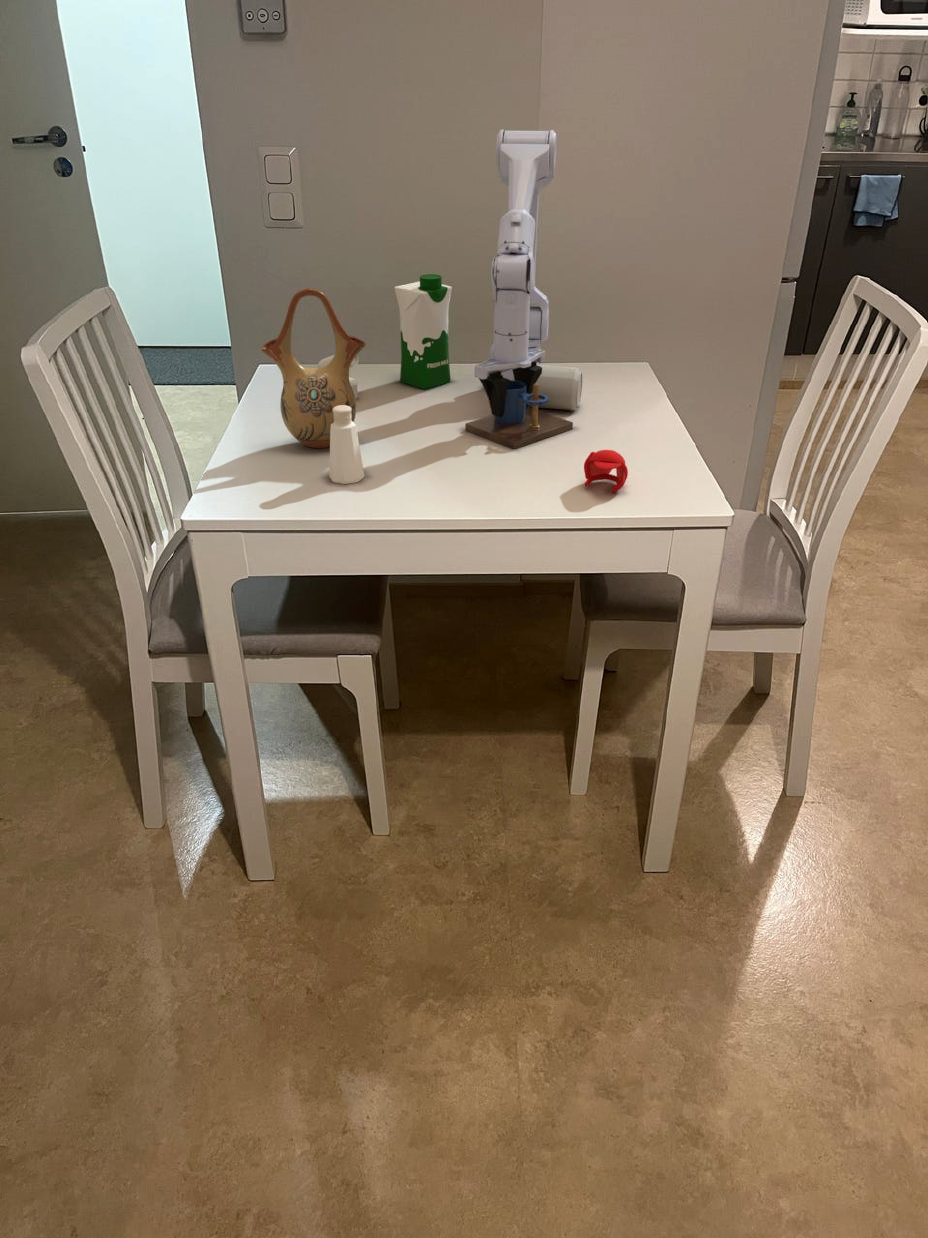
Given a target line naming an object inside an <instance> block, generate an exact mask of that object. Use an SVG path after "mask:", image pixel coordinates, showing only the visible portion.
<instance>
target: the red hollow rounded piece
mask: <svg viewBox="0 0 928 1238" xmlns="http://www.w3.org/2000/svg"><path fill="white" fill-rule="evenodd" d="M614 469H615V472H616V475H614V474H611V472H612V470H614ZM583 472H584V477H585V479H586V481H585V482H584V484H583V485H584V487H585V488H588V487H589V486H590V484H591V483H593V482H595V481H601V480H602V481H603V480H608V481H612V482H614V483H616V485H614V486H612V488H611V489H610V490H611V492H612V493H616V492H619V491H620V490H621V489H623V487H624V485H625V483H626V482H627V479H628V475H629V469H628V467H627V465H626V460H625V458H624V457H623V456H622V455H621V453H619V452H617V451H616V450H612V449H601V450H597V451H596V452H595V451H591V452H590V453H589V455H588V456H587V458H586V459H585V461H584V464H583Z"/></svg>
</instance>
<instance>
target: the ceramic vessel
mask: <svg viewBox="0 0 928 1238" xmlns="http://www.w3.org/2000/svg"><path fill="white" fill-rule="evenodd" d="M305 297H315V298H317V299H319V301H320V302H321V304H322V306H323V307H324V309H325V312H326V314H327V317H328V319H329V322H330V324H331V328H332V332H333V337H334V344H335V352H334V354H333V355H334V357H333V359H332V360H331V361H330V362H329V363H328V364H327V365H325V366H323V367H319V368H317V367H307V366H305V365H303V364H302V363H300V362H299V361H298V360H297V359H296V358H295V357H294V353H293V350H292V329H293V322H294V318H295V314H296V310H297V307H298V304H299V303H300V300H302V299H303V298H305ZM366 346H367V344H366V342H365V341H364V340H362V339H360V338H358V337H356V336H353V335H349V334H348V333H347V331H345V329H344V328H343V326H342V324H341V322H340V320H339V319H338V316H337V314H336V312H335V309H334V307H333V306H332V304H331V301H330V299H329V298H328V297H327V295H326V294H325V293H324V292H322V291H321V290H318V289H316V288H312V287H306V288H304V289H300V290H299V291H297V292H296V293H294V294H293V296H292V297H291V299H290V301H289V305H288V308H287V311H286V315H285V318H284V322H283V324H282V328H281V330H280V332H279V334H278V336H277V338H273V339H270V340H269V341H267V342H265V343H264V344H263V345H262V346H261V347H260V348H259V350H260V351H261V352H262V354H264V355H265V356H267V357H268V358H269V359H270V360H272V361H273V363H274V364H275V365H276V366H277V367H278V369H279V370H280V371H279V372H280V373H281V376H282V383H283V385H282V391H281V395H280V400H279V401H280V402H279V406H280V407H279V408H280V413H281V418H282V421H283V423H284V426H285V428H286V429H287V431H288V432H289V433H290V435H291V436H292V437H293V438H294V439H296V440H297V441H298V442H299V443H300V444H302V445H304V446H306V447H309V448H312V449H313V448H315V449H325V448H330V429H331V424H332V423H334V416H333V415H334V414H333V408H334V407H336V406H339V405H346V406H349V407H351V408H352V411H351V414H352V416H351V417H352V418H351V419H352V421H353V422H354V423H355V420H356V414H357V400H356V399H355V395H354V392H353V390H352V387H351V385H350V382H349V377H350V369H351V367H350V366H351V363H352V361H353V360H354V358H355V357H356V356H357V354H358V355H359V354H360V352H361V351H362V350H363V349H364V348H365V347H366Z"/></svg>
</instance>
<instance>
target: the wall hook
mask: <svg viewBox="0 0 928 1238" xmlns="http://www.w3.org/2000/svg"><path fill="white" fill-rule="evenodd" d="M334 355H335V354H333V355H331V356H328V357H325V358H323V359H321V360H319V362H318V363H317V365H316V368H319V367H323V366H325V365H327V364H328V363H329V362H330V361H331V360H332V359H333V357H334ZM359 359H360V358H359V353H358V354H357V356H356V357H355V358H354V360H353V361H352V363H351V366H350V368H353V367H355V366H357V365H358V364H359ZM349 382H350V385H351V387H352V390H353V392H354V395H355V400H356V399H357V398H358V396H359V393H358V381H357V380H356V379H355V378H353V377H350V376H349Z"/></svg>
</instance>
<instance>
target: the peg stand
mask: <svg viewBox="0 0 928 1238" xmlns="http://www.w3.org/2000/svg"><path fill="white" fill-rule="evenodd" d="M538 397H539V385H538V384H537V383H535V384H533V396H532V401H538ZM464 424H465V425H464V427H465V429H464V430H465V431H467V432H469V433H472V434H474V435H477V436H480V437H482V438H485V439H487V440H490V441H492V442H495V443H497V444H500V445H502V446H505V447H507V448H510V449H513V450H516V449H519V448H522V447H525V446H527V445H531V444H535V443H537V442H538V441H539V442H540V441H542V440H545V439H548V438H551V437H553V436H556V435H559V434H562V433H565V432H569V431H570V430H573V428H574V423H573V421H570V420H567V419H565V418H561V417H559V416H556V415H553V414H550V413H547V412H544V411H541V410H539V407H538V405H532V407H527V409H526V417H525V418H524V421H523V422H521V423H517V424H503V423H499V422H497V421H496V420H495V418H494V415H492V414H491V415H488V416H484V417H481V418H478V419H475V420H472V421H469V422H465V423H464Z"/></svg>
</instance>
